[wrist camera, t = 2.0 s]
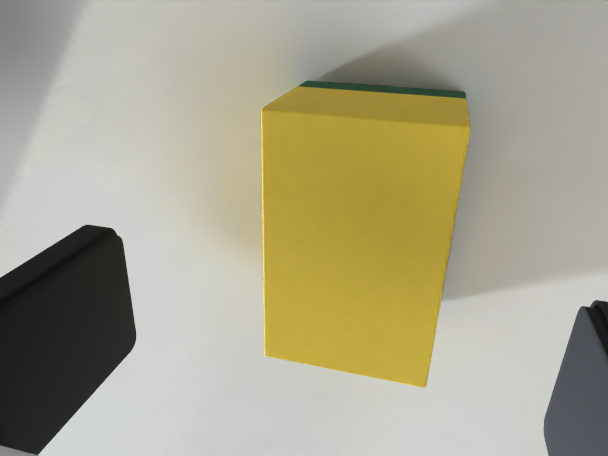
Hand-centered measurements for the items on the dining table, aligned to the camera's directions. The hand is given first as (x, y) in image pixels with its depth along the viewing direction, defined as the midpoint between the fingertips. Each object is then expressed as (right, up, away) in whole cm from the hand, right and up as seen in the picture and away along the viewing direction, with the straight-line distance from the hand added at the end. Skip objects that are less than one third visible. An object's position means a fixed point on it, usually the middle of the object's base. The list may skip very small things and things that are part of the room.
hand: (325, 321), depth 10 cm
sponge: (+2, +3, +5) cm, 6 cm away
